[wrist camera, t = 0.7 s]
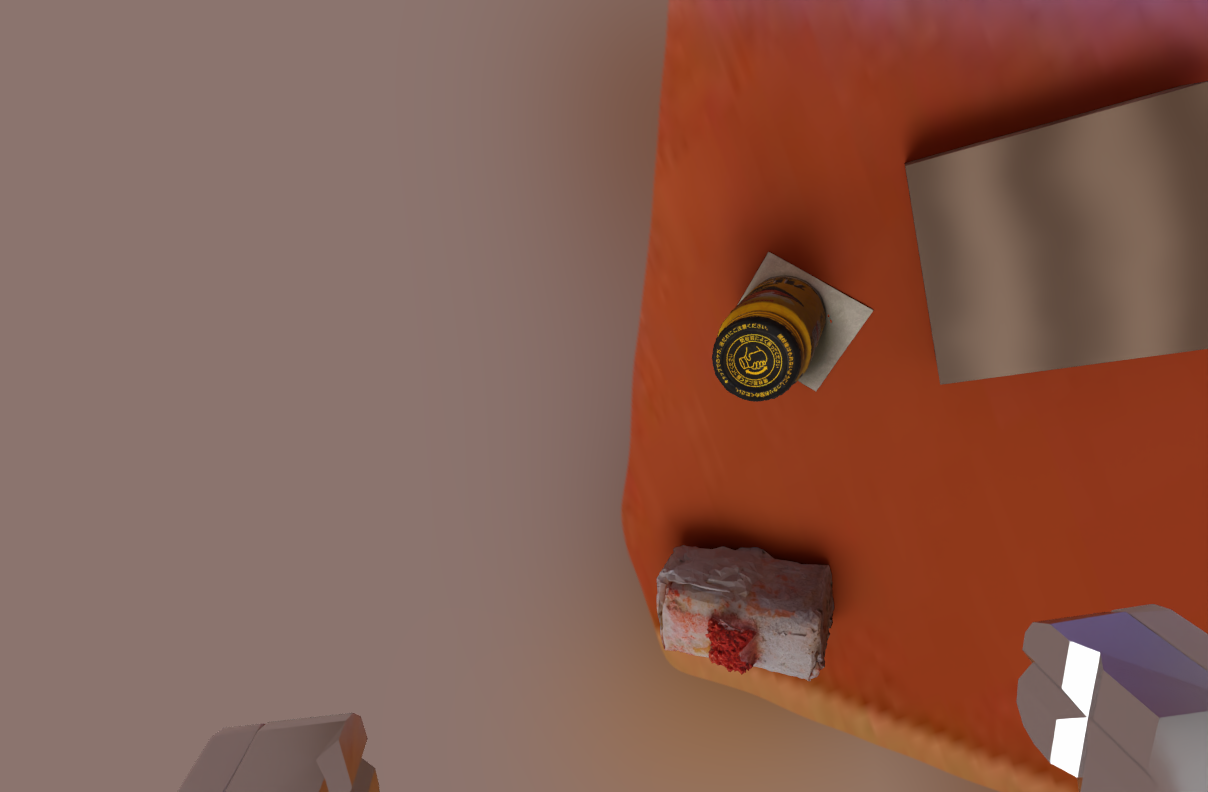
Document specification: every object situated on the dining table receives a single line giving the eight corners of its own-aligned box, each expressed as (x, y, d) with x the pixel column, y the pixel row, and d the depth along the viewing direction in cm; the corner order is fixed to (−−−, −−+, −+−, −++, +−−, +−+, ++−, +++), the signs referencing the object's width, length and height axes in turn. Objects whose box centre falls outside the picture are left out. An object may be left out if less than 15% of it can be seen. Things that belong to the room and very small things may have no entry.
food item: (683, 601, 62) (649, 675, 53) (676, 528, 59) (639, 594, 51) (835, 625, 56) (823, 712, 48) (834, 546, 54) (822, 623, 45)
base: (1181, 85, 36) (1211, 80, 32) (1195, 328, 39) (1223, 346, 36) (904, 163, 42) (905, 165, 39) (937, 365, 46) (940, 384, 42)
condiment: (768, 251, 47) (733, 284, 37) (873, 309, 46) (866, 360, 36) (721, 333, 51) (676, 383, 41) (816, 389, 50) (795, 457, 39)
